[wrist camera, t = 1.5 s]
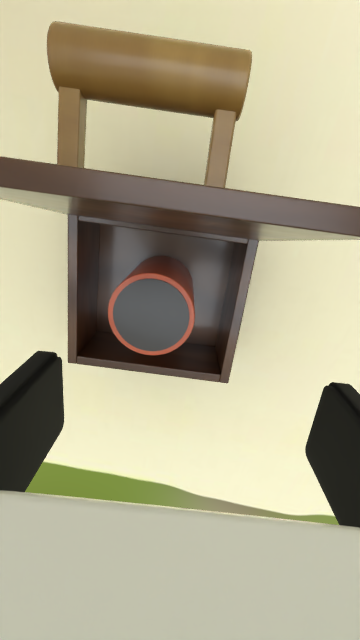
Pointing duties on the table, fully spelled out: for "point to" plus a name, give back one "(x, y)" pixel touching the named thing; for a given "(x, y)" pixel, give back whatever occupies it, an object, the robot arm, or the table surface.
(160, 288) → the tin
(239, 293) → the box
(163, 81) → the lid
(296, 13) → the table surface
